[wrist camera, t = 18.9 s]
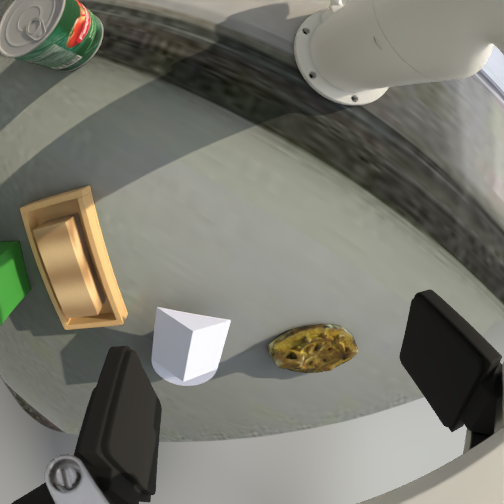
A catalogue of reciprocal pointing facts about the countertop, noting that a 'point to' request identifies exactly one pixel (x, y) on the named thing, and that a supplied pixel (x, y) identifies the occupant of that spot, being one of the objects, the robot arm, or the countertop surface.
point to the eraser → (70, 266)
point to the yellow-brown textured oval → (313, 348)
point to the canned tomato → (50, 33)
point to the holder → (85, 208)
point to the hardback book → (11, 278)
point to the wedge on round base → (187, 346)
